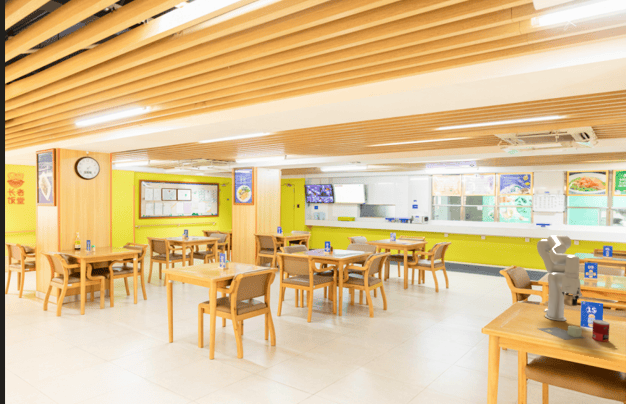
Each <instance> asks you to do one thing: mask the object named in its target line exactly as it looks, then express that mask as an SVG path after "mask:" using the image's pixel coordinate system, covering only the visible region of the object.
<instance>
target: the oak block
mask: <svg viewBox="0 0 626 404" xmlns="http://www.w3.org/2000/svg"><path fill="white" fill-rule="evenodd" d="M575 297H576V295H575ZM572 301H573V294H569V295H564V306H565V305H566V306H569V307H577V306H578V304H577V305H574V306H573V305H572Z"/></svg>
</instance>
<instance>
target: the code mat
mask: <svg viewBox="0 0 626 404" xmlns="http://www.w3.org/2000/svg"><path fill="white" fill-rule="evenodd" d="M538 331H541V332H544V333H546V334H549V335H552V336H554V337H557V338H559V339H562V340H564V341H569V340H579V339H586V337H585V336H582V337H573V336H571V335H568V330H566V329H563V328H560V327H558V326H555V327H554V326H553V327H542V328H541V327H539V328H538Z"/></svg>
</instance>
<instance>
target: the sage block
mask: <svg viewBox="0 0 626 404" xmlns="http://www.w3.org/2000/svg"><path fill="white" fill-rule="evenodd" d="M567 331H568V335H571V336H573V337H583V336H582V333H583V328H582V327H579V326H577V325H568V326H567Z"/></svg>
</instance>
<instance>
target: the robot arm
mask: <svg viewBox="0 0 626 404" xmlns="http://www.w3.org/2000/svg"><path fill="white" fill-rule="evenodd" d="M571 245H572V239H571V238H570V237H569V236H567V235H559V234H558V235H556V234H555V235H554V234H553V235H549V236H548V237H547V239H540V240H538V241H537V244H536V249H537V252H538V254H539V255H538V256H539V257H540V258H541V260H542V261H543V263H544V266H545V269H546V271H547V273H548V275H547V284H548V297H547V299H548V301H547V302H548V304H547V308H545V309H544V310H543V312H544V313H545V315H544V316H545V318H547V319H549V320H552V321H558V322H564V321H567V317H565V304H564V295H573V301H572V305H573V306H572V307H575V306H574V305H577V306H578V300H579V299H580V298H582V296H583V294H582V292H581V279H580V261H581V259H580V257H579V256H577V255H575V254H569V253H568V254H567V253H566V252H567V250H568V249H570V247H571ZM575 296H576V297H575Z"/></svg>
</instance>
